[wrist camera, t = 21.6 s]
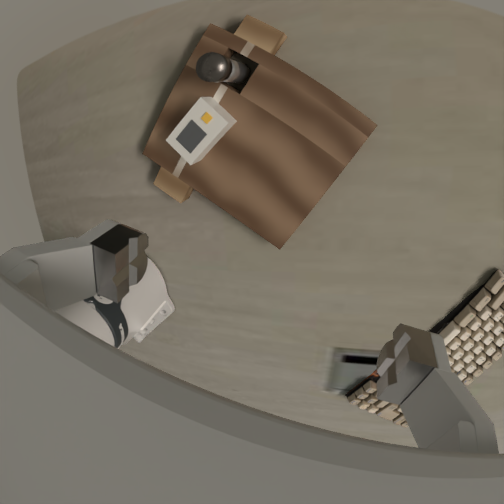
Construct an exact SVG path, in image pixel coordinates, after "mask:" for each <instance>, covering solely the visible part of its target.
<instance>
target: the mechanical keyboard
mask: <svg viewBox="0 0 504 504" xmlns="http://www.w3.org/2000/svg"><path fill="white" fill-rule="evenodd" d="M444 323H445V324H444ZM429 332H432V333H436V334H439V335H441V336H442V337H443V339H444V343H445V347H446V351H447V355H448V359H449V363H450V367H451V372H453V373H455V374H456V375H457V376H458V377H459V379H460V380H461V381H462V382H463V384H466V385H468V384H470V383H471V382H472V381H473V375H474V376H476V377H478V376H479V375H480V374H482V373H483V367H484V368H485V369H488V368H489V367H490V366H491V365H492V358H493V359H494V360H495V361H496V360H498V359H499V358H500V357H501V356H502V350H504V273H503V272H501V271H500V270H499V269H498V270H497V271H496V272H495V273H494V274H493V275H492V276H491V277H490V278H489V280H488V281H487V282H486V283H485V284H484V285H482V286H481V287H480V288H479V289H477V290H476V291H474V292H473V293H471V294H470V295H469V296H468V297H467V298H465V300H463V301H462V302H461V303H460V304H459V305H458V306H457V307H456V308H455V309H454V310H453V311H451V312H450V314H448V315H447V316H446V317H445V318H444V319H443V320H442V321H440V322H439V323H438V324H437V325H436V326H434V327H433V328H432V329H431V330H430V331H429ZM501 349H502V350H501ZM379 379H380V375H379V374H378V373H377V370H375V371H374V372H373V373H372V374H371V375H370V376H368V377H367V378H366V379H365V380H363V381H362V382H361V383H360V384H358V385H357V386H356V387H354V388H353V389H352V390H351V391H349V392H348V393H347V394H345V395H346V396H347V399H348V400H349V402H350V404H354V405H358V407H359V408H361V409H367V410H368V412H370V413H376V414H377V415H378V416H380V417H382V418H385V419H387V420H390V421H391V420H393V423H395V424H397V425H399V424H401V426H402V427H405V428H407V427H408V426H409V425H408V423H407V421H406V419H405V417H404V415H403V413H402V411H401V408H400V405H398V404H394V403H390V402H386V401H382V400H379V399H377V381H378V380H379Z"/></svg>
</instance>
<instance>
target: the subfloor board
mask: <svg viewBox="0 0 504 504" xmlns="http://www.w3.org/2000/svg"><path fill="white" fill-rule="evenodd" d="M286 38H287V36H286V35H285V34H284V33H283V32H281V31H279V30H277V29H275V28H273V27H272V26H270V25H268V24H266V23H264V22H262V21H260V20H257V19H255V18H253V17H251V16H249V15H246V17H245V18H244V20H243V21H242V23H241V24H240V26H239V27H238V29H237V30H236V32H235V33H234V34H232V33H230V32H228V31H226V30H224V29H222V28H220V27H217V26H215V25H213V24H211V23H210V25H209V26H208V28H207V29H206V31H205V33H204V34H203V36H202V38H201V39H200V41H199V43H198V44H197V46H196V48H195V49H194V51H193V53H192V55H191V56H190V58H189V60H188V62H187V63H186V65H185V67H184V69H183V71H182V73H181V74H180V76H179V78H178V80H177V82H176V84H175V86H174V88H173V90H172V92H171V93H170V95H169V97H168V99H167V101H166V103H165V105H164V108H163V110H162V112H161V114H160V116H159V118H158V120H157V122H156V124H155V126H154V129H153V131H152V133H151V135H150V138H149V140H148V142H147V144H146V147H145V149H144V151H143V154H144V155H145V156H147V157H148V158H150V159H151V160H153V161H154V162H155V163H157V164H158V165H160V166H161V168H160V170H159V172H158V174H157V177H156V179H155V181H154V183H153V184H154V185H156V186H157V187H158V188H160V189H161V190H163V191H164V192H165V193H167V194H168V195H170V196H171V197H172V198H174V199H175V200H177V201H178V202H180V203H182V202H184V201H185V200H186V199H188V198H189V197H190V195H191V193H192V191H193V189H195V190H196V191H198V192H199V193H200V194H202V195H203V196H205V197H206V198H208V199H209V200H210V201H212V202H213V203H215V204H216V205H218V206H219V207H220V208H222V209H223V210H225V211H226V212H228V213H229V214H230V215H232V216H233V217H235V218H236V219H238V220H239V221H240V222H242V223H243V224H245V225H246V226H247V227H249V228H250V229H252V230H253V231H254V232H256V233H257V234H259V235H260V236H262V237H263V238H264V239H266V240H267V241H269V242H270V243H271V244H273V245H274V246H276V247H277V248H278V249H281V248H282V246H283V245H284V244H285V243H286V241H287V240H288V239H289V238H290V236H291V235H292V234H293V233H294V231H295V230H296V229H297V228H298V226H299V225H300V224H301V223H302V221H303V220H304V219H305V218H306V216H307V215H308V214H309V213H310V211H311V210H312V209H313V208H314V206H315V205H316V204H317V202H318V201H319V200H320V199H321V197H322V196H323V195H324V194H325V192H326V191H327V190H328V189H329V187H330V186H331V185H332V183H333V182H334V181H335V180H336V178H337V177H338V176H339V174H340V173H341V172H342V171H343V169H344V168H345V167H346V166H347V164H348V163H349V162H350V160H351V159H352V158H353V157H354V155H355V154H356V153H357V151H358V150H359V149H360V147H361V146H362V145H363V144H364V142H365V141H366V140H367V138H368V137H369V136H370V134H371V133H372V132H373V131H374V129H375V128H376V127H377V124H375V123H374V122H373V121H371V120H370V119H369V118H368V117H366V116H365V115H364V114H362V113H361V112H360V111H358V110H357V109H356V108H354V107H353V106H352V105H350V104H349V103H348V102H346V101H345V100H343V99H342V98H341V97H339V96H338V95H336V94H335V93H333V92H332V91H330V90H329V89H328V88H326V87H325V86H323V85H322V84H320V83H319V82H317V81H315V80H314V79H312V78H311V77H309V76H308V75H306V74H304V73H303V72H301V71H300V70H298V69H296V68H295V67H293V66H291V65H290V64H288V63H286V62H285V61H283V60H281V59H280V58H278V57H276V56H275V54H276V53H277V51H278V50H279V48H280V47H281V45H282V44H283V42H284V41H285V40H286ZM234 51H236V52H238V53H240V54H242V55H244V56H246V57H247V58H249V59H251V60H253V61H255V62H257V63H258V64H259V65H258V67H257V68H256V70H255V71H254V73H253V74H252V76H251V77H250V79H249V81H248V82H247V84H246V85H245V87H244V88H243V90H242V92H241V91H239V90H237V89H235V88H234V87H232V86H230V85H229V84H227V83H225V82H219V83H215V82H206V81H203V80H201V79H200V78H199V77H198V75H197V73H196V63H197V61H198V59H199V58H200V57H201V56H202V55H203V54H205V53H208V52H215V53H219V54H222V55H225V56H227V57H228V58H229V59H230V57H231V56H232V54H233V53H234ZM200 97H212V98H213V99H214V100H215V101H216V102H218V103H219V104H220V105H221V106H222V107H223V108H224V109H225V110H226V111H227V112H228V113H229V114H230V115H231V116H232V117H233V118H234V119H235V120H236V121H237V122H236V123H235V124H234V125H233V126H232V127H231V128H230V129H229V130H228V131H227V132H226V133H225V134H224V136H223V137H222V138H221V139H220V140H219V141H218V142H217V143H216V144H215V145H214V146H213V148H212V149H211V150H210V151H209V152H208V153H207V154H206V155H205V157H204V158H203V159H202V160H201V161H199V162H197V163H195V164H192V165H190V164H189V163H188V162H187V161H186V160H185V159H184V158H183V157H182V156H181V155H180V154H179V153H178V152H177V151H176V150H175V149H174V148H173V147H172V146H171V145H170V144H169V143H168V142H167V141H166V139H167V138H168V137H169V135H170V134H171V133H172V131H173V130H174V129H175V128H176V126H177V125H178V124H179V123H180V121H181V120H182V119H183V118H184V116H185V115H186V114H187V113H188V112H189V110H190V109H191V108H192V107H193V106H194V104H195V103H196V102H197V101H198V100H199V98H200Z"/></svg>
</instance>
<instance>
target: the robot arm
mask: <svg viewBox="0 0 504 504" xmlns="http://www.w3.org/2000/svg"><path fill="white" fill-rule="evenodd" d="M148 238H149V237H148V236H147V234H146V233H144V232H141V231H139V230H136V229H134V228H131V227H129V226H126V225H124V224H121V223H119V222H116V221H113V220H108V219H107V220H105V221H104V222H102V223H100V224H99V225H97V226H96V227H94V228H92V229H91V230H89V231H88V232H86V233H84V234H83V235H81V236H80V237H78V238H75V237H70V238H64V239H58V240H53V241H47V242H41V243H36V244H30V245H26V246H20V247H15V248H12V249H11V250H9V251H7V252H6V253H4V254H3V255H2V256H0V504H504V454H499V451H498V445H497V439H496V434H495V428H494V424H493V422H492V421H491V420H490V418H489V417H488V415H487V414H486V413H485V411H484V410H483V409H482V407H481V406H480V405H479V403H478V402H477V401H476V399H475V398H474V397H473V395H472V394H471V393H470V391H469V390H468V389H467V388H466V386H465V385H464V384H463V382H462V381H461V380H460V379H459V377H458V376H457V375H456V374H455V373H453V372H451V367H450V363H449V359H448V355H447V351H446V347H445V343H444V339H443V337H442V336H441V335H439V334H436V333H432V332H427V331H424V330H421V329H417V328H414V327H411V326H408V325H404V324H399V325H398V326H397V327H396V329H395V330H394V332H393V340H391V341H389V342H387V343H386V344H385V345H384V347H383V348H382V350H381V352H380V355H379V357H378V361H377V372H378V374H379V375H380V379H379V380H378V381H377V399H379V400H382V401H386V402H390V403H394V404H398V405H400V408H401V411H402V413H403V415H404V417H405V419H406V421H407V423H408V425H409V427H410V429H411V432H412V434H413V436H414V438H415V440H416V442H417V445H418V447H419V448H416V447H409V446H402V445H396V444H390V443H384V442H379V441H373V440H368V439H364V438H359V437H354V436H350V435H345V434H341V433H337V432H333V431H329V430H325V429H321V428H317V427H314V426H310V425H306V424H303V423H299V422H296V421H292V420H289V419H286V418H283V417H279V416H276V415H273V414H270V413H267V412H264V411H261V410H258V409H255V408H252V407H249V406H247V405H244V404H241V403H238V402H236V401H233V400H230V399H228V398H225V397H222V396H220V395H217V394H215V393H212V392H210V391H207V390H205V389H202V388H200V387H198V386H195V385H193V384H191V383H188V382H186V381H184V380H181V379H179V378H177V377H175V376H172V375H170V374H168V373H166V372H164V371H162V370H160V369H157V368H155V367H153V366H151V365H149V364H147V363H145V362H143V361H141V360H139V359H137V358H135V357H133V356H131V355H129V354H127V353H125V352H124V351H122V350H120V349H118V348H119V347H120V346H121V345H125V344H126V343H127V342H128V341H129V340H130V339H131V338H132V337H133V338H134V339H135V340H136V341H137V342H138V343H140V342H141V341H142V340H143V339H144V337H145V336H147V335H148V334H149V333H150V332H151V331H152V330H153V329H154V328H156V327H157V326H158V325H159V324H160V323H161V322H162V321H164V320H165V319H166V318H167V317H168V316H169V315H170V314H171V313H172V312H174V310H175V307H174V305H173V303H172V301H171V299H170V298H169V296H168V294H167V290H166V285H165V282H164V279H163V277H162V275H161V273H160V271H159V270H158V268H157V267H156V265H155V264H154V263H153V262H152V261H151V260H150V259H149V258H148V257H147V255H146V253H145V251H144V250H145V249H146V248H147V247H148Z"/></svg>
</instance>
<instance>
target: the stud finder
mask: <svg viewBox="0 0 504 504" xmlns="http://www.w3.org/2000/svg"><path fill="white" fill-rule="evenodd" d="M236 122H237V121H236V120H235V119H234V118H233V117H232V116H231V115H230V114H229V113H228V112H227V111H226V110H225V109H224V108H223V107H222V106H221V105H220V104H219V103H218V102H216V101H215V100H214V99H213V98H212V97H200V98H199V100H198V101H197V102H196V103H195V104H194V106H193V107H192V108H191V109H190V110H189V112H188V113H187V114H186V115H185V116H184V118H183V119H182V120H181V121H180V123H179V124H178V125H177V126H176V128H175V129H174V130H173V131H172V133H171V134H170V135H169V137H168V138H167V139H166V141H167V142H168V143H169V144H170V145H171V146H172V147H173V148H174V149H175V150H176V151H177V152H178V153H179V154H180V155H181V156H182V157H183V158H184V159H185V160H186V161H187V162H188V163H189V164H190V165H192V164H195V163H197V162H199V161H201V160H202V159H203V158H204V157H205V155H206V154H207V153H208V152H209V151H210V150H211V149H212V148H213V146H214V145H215V144H216V143H217V142H218V141H219V140H220V139H221V138H222V137H223V136H224V134H225V133H226V132H227V131H228V130H229V129H230V128H231V127H232V126H233V125H234V124H235V123H236Z"/></svg>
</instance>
